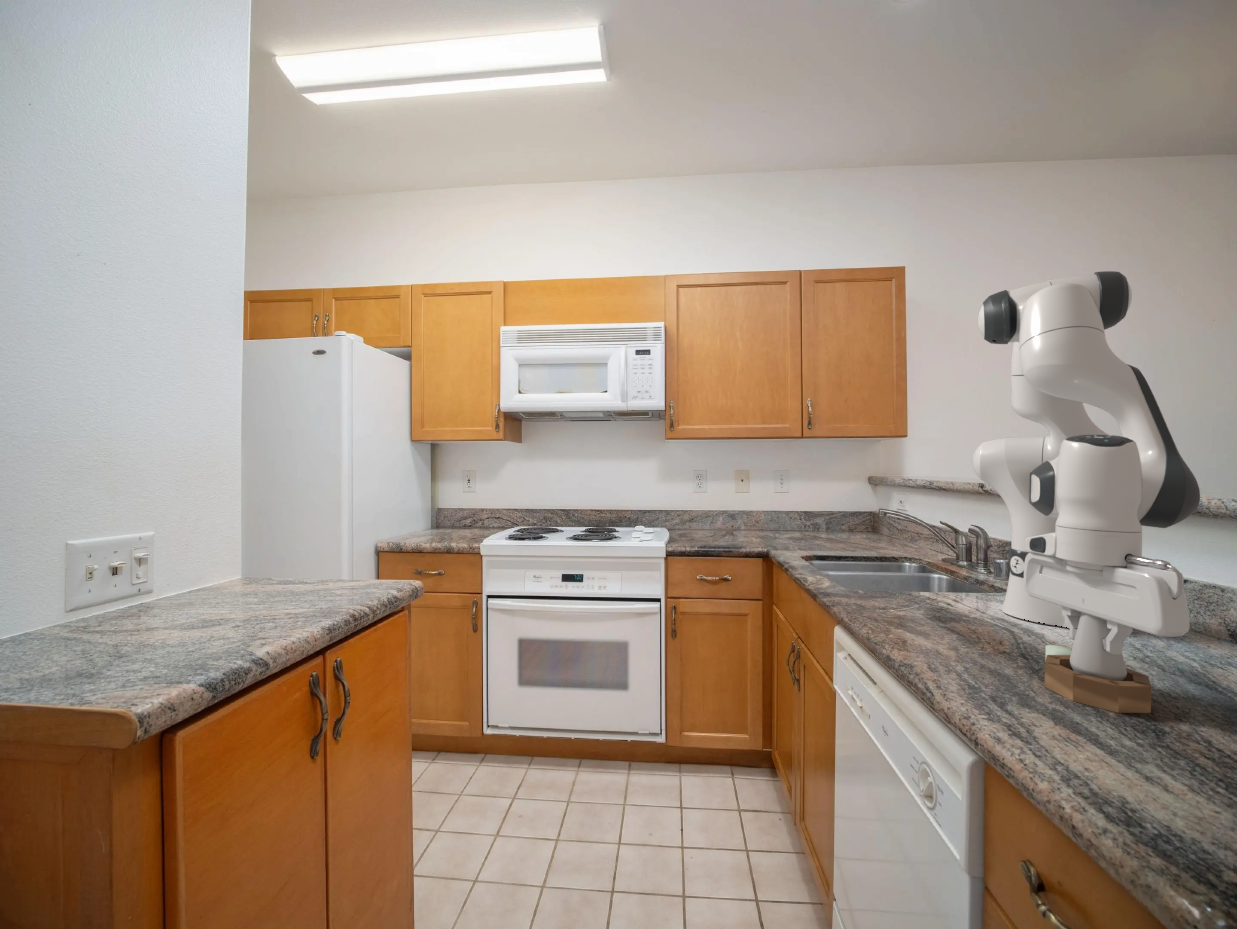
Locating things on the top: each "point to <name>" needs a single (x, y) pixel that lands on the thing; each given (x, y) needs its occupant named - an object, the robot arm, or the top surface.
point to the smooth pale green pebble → (1057, 650)
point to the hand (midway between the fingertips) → (1094, 646)
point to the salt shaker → (1095, 651)
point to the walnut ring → (1098, 687)
